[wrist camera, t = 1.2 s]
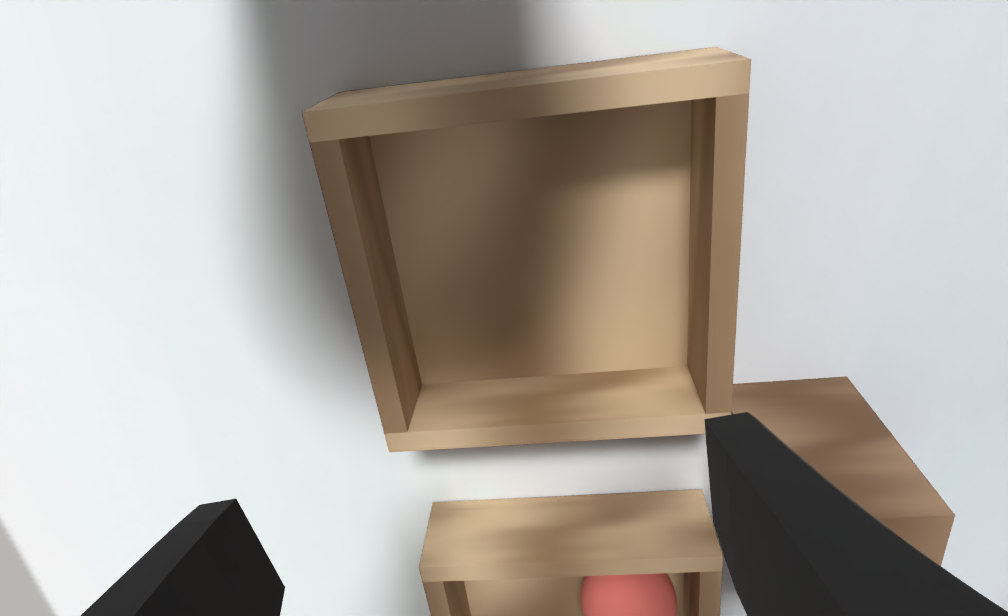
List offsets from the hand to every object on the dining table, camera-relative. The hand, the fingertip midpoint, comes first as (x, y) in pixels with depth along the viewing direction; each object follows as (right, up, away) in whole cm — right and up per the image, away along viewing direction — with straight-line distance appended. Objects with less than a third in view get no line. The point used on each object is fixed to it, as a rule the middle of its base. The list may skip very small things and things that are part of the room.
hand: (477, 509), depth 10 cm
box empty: (+2, +5, +9) cm, 11 cm away
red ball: (+5, -7, +14) cm, 17 cm away
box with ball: (+3, -8, +16) cm, 18 cm away
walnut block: (+10, -1, +12) cm, 15 cm away
